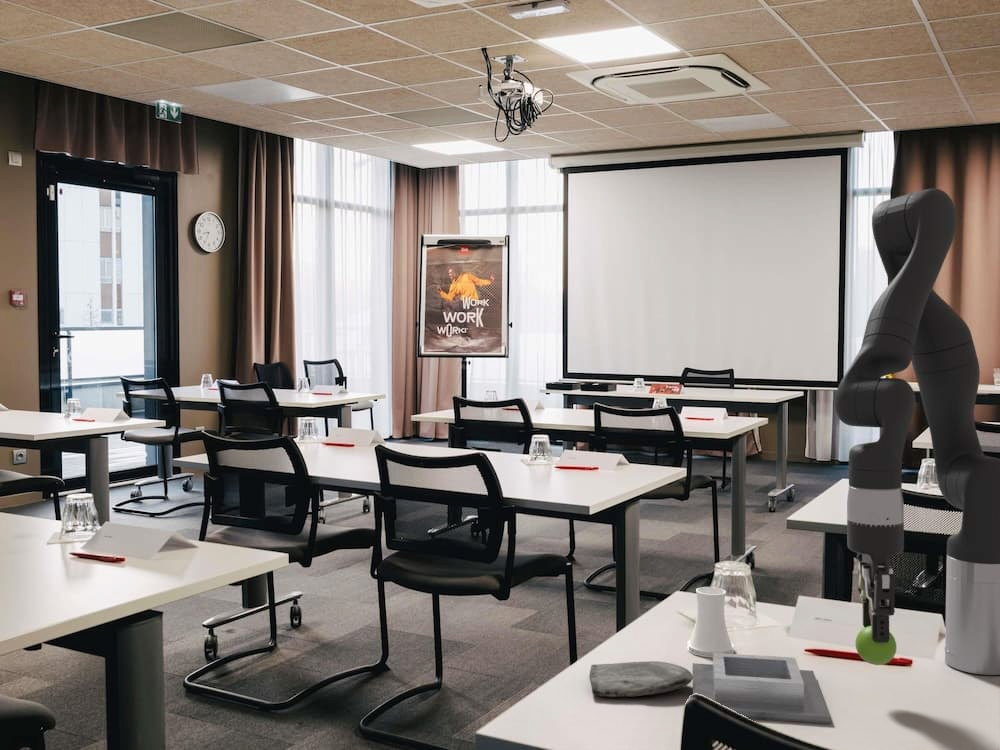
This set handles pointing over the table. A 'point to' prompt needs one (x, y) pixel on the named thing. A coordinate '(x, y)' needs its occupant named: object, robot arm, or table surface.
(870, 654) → the snail figurine
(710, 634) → the white flared stand
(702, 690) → the collar block
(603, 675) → the stone
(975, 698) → the table surface
